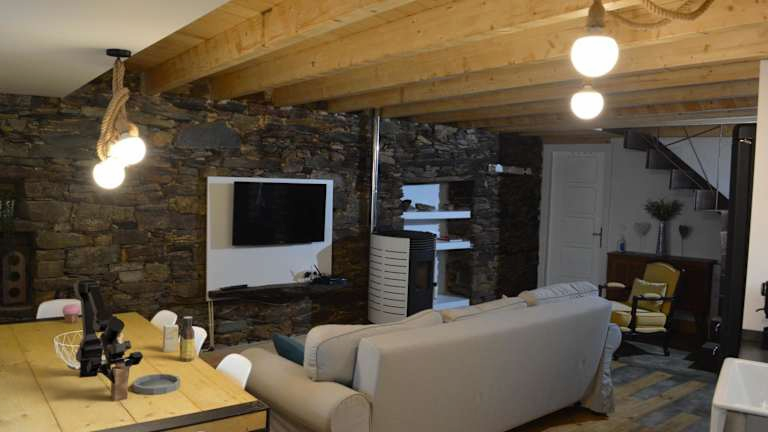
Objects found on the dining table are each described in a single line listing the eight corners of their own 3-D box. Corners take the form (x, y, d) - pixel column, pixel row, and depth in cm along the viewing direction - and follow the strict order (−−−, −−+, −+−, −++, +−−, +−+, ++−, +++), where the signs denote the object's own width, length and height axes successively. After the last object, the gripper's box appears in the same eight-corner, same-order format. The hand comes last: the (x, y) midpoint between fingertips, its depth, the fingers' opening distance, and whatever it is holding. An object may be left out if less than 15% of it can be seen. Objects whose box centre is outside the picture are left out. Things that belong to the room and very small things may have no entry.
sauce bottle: (181, 357, 273) (182, 315, 271) (195, 358, 273) (196, 315, 272) (177, 362, 266) (179, 318, 265) (192, 362, 267) (193, 318, 265)
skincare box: (164, 352, 279) (164, 327, 278) (162, 350, 283) (163, 325, 282) (178, 351, 282) (178, 326, 281) (176, 348, 286) (176, 324, 285)
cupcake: (74, 324, 322) (74, 306, 321) (58, 323, 322) (59, 305, 321) (83, 320, 331) (83, 303, 330) (67, 320, 331) (68, 302, 330)
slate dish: (135, 396, 222) (135, 390, 222) (131, 382, 238) (132, 376, 237) (182, 391, 230) (182, 385, 230) (176, 377, 245) (176, 372, 245)
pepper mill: (115, 401, 217) (115, 366, 217) (110, 397, 220) (111, 363, 220) (127, 398, 220) (128, 364, 220) (122, 395, 223) (123, 361, 223)
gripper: (90, 337, 215) (99, 375, 208) (141, 330, 228) (152, 366, 221) (82, 353, 222) (91, 391, 214) (133, 346, 234) (143, 381, 227)
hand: (120, 381), depth 219 cm, fingers closed on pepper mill, 4 cm apart
